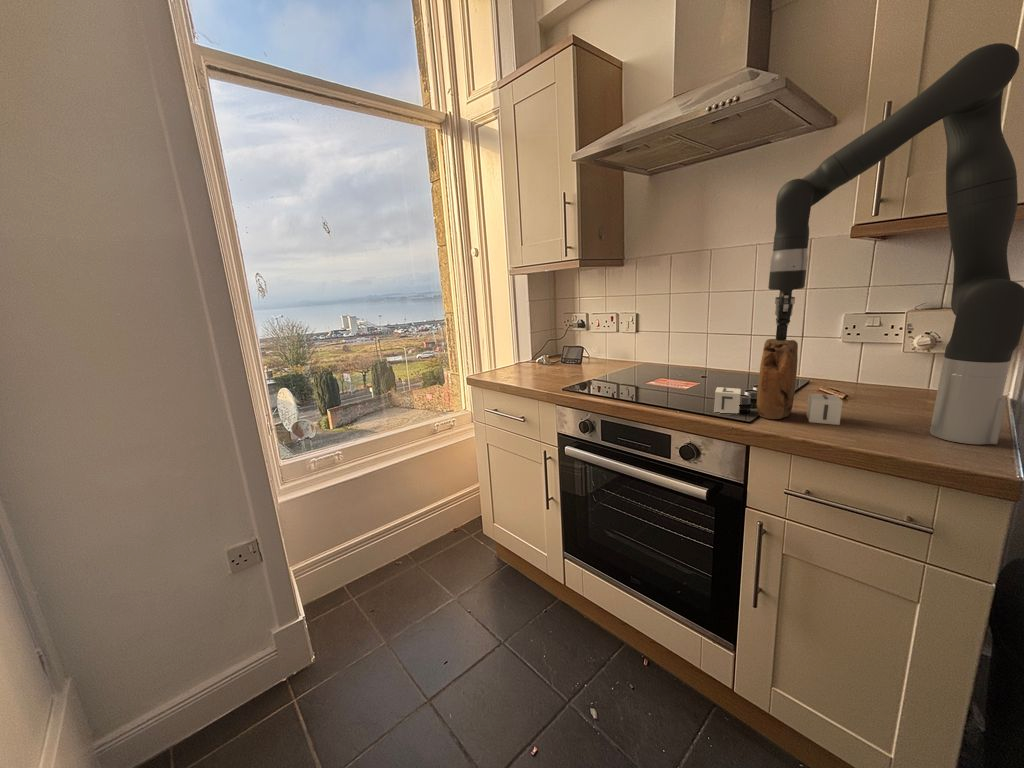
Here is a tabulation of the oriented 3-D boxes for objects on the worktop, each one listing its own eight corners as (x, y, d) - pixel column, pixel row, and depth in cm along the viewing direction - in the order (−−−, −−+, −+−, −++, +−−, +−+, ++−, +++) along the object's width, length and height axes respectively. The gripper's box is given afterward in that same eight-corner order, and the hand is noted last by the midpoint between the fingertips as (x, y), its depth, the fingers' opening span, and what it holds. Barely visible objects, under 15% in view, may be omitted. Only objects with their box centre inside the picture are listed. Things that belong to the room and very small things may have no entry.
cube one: (835, 418, 105) (838, 394, 104) (839, 425, 100) (842, 400, 98) (806, 415, 108) (809, 392, 107) (809, 422, 103) (812, 398, 101)
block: (762, 408, 115) (769, 336, 111) (794, 412, 110) (802, 338, 106) (751, 417, 108) (758, 341, 103) (785, 423, 103) (794, 343, 98)
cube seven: (739, 409, 116) (740, 388, 114) (738, 415, 110) (740, 393, 109) (715, 407, 118) (716, 386, 117) (713, 413, 113) (715, 391, 112)
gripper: (809, 267, 93) (801, 344, 97) (803, 269, 104) (796, 337, 108) (770, 270, 97) (764, 343, 101) (769, 270, 108) (763, 336, 112)
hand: (780, 340), depth 105 cm, fingers closed
